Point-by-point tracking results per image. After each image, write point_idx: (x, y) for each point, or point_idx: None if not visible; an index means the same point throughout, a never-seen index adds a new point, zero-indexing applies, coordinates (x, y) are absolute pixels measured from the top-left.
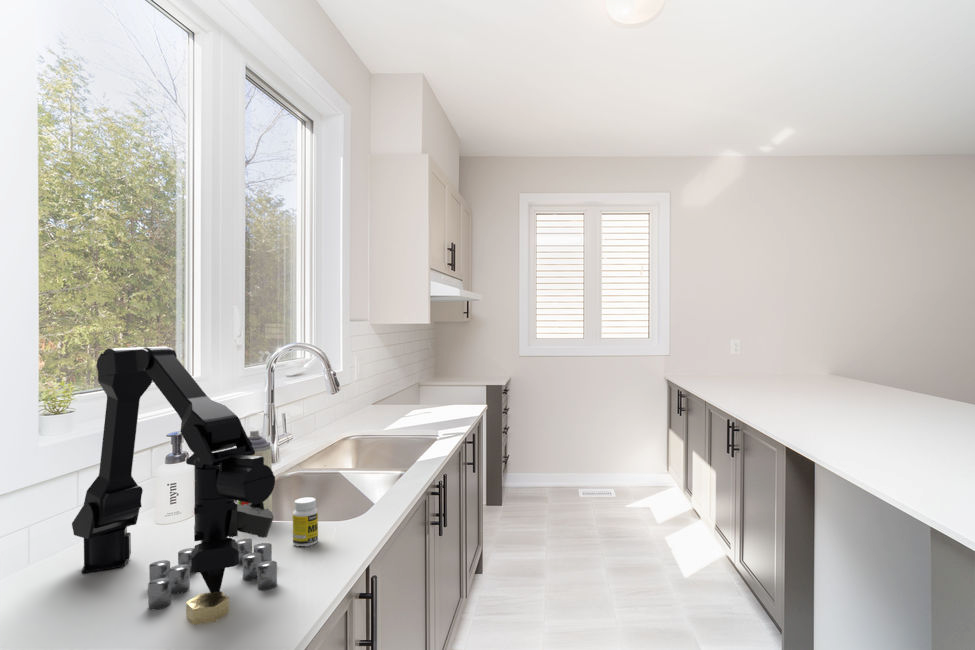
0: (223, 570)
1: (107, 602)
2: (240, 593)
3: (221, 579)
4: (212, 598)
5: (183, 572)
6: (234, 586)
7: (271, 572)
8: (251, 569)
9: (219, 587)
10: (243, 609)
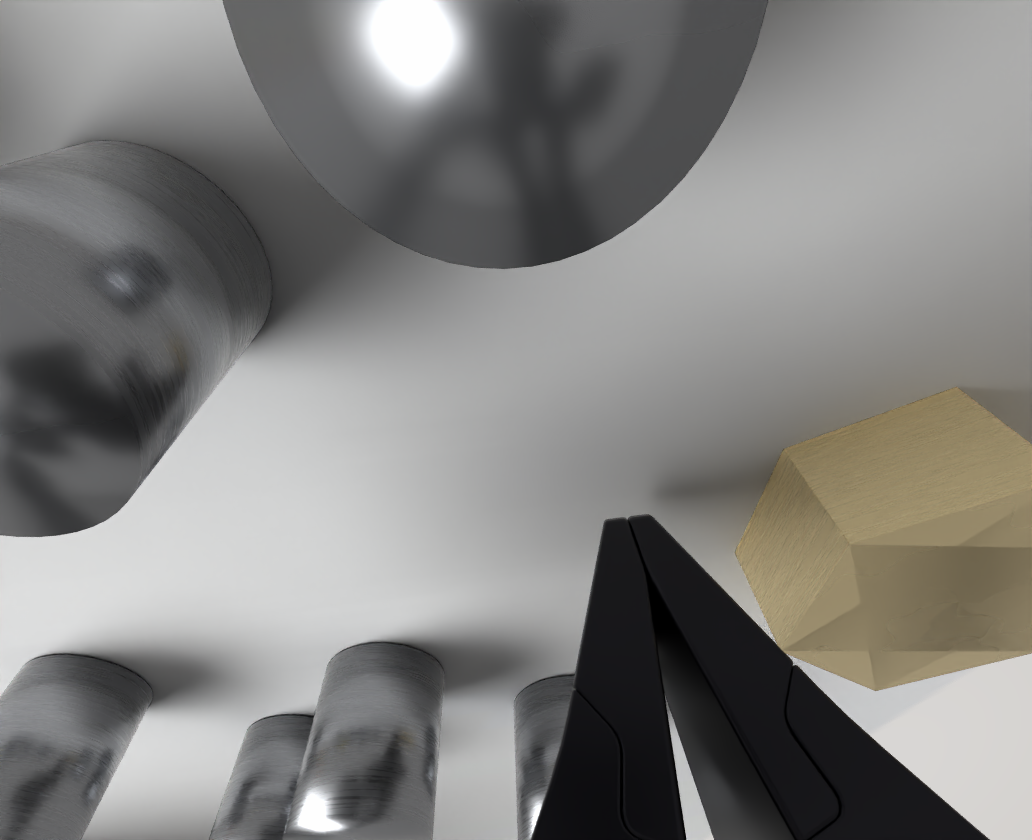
0: (863, 733)
1: (454, 810)
2: (599, 338)
3: (747, 622)
4: (959, 581)
5: (415, 805)
6: (408, 406)
7: None
8: (214, 318)
9: (688, 559)
10: (1007, 271)
